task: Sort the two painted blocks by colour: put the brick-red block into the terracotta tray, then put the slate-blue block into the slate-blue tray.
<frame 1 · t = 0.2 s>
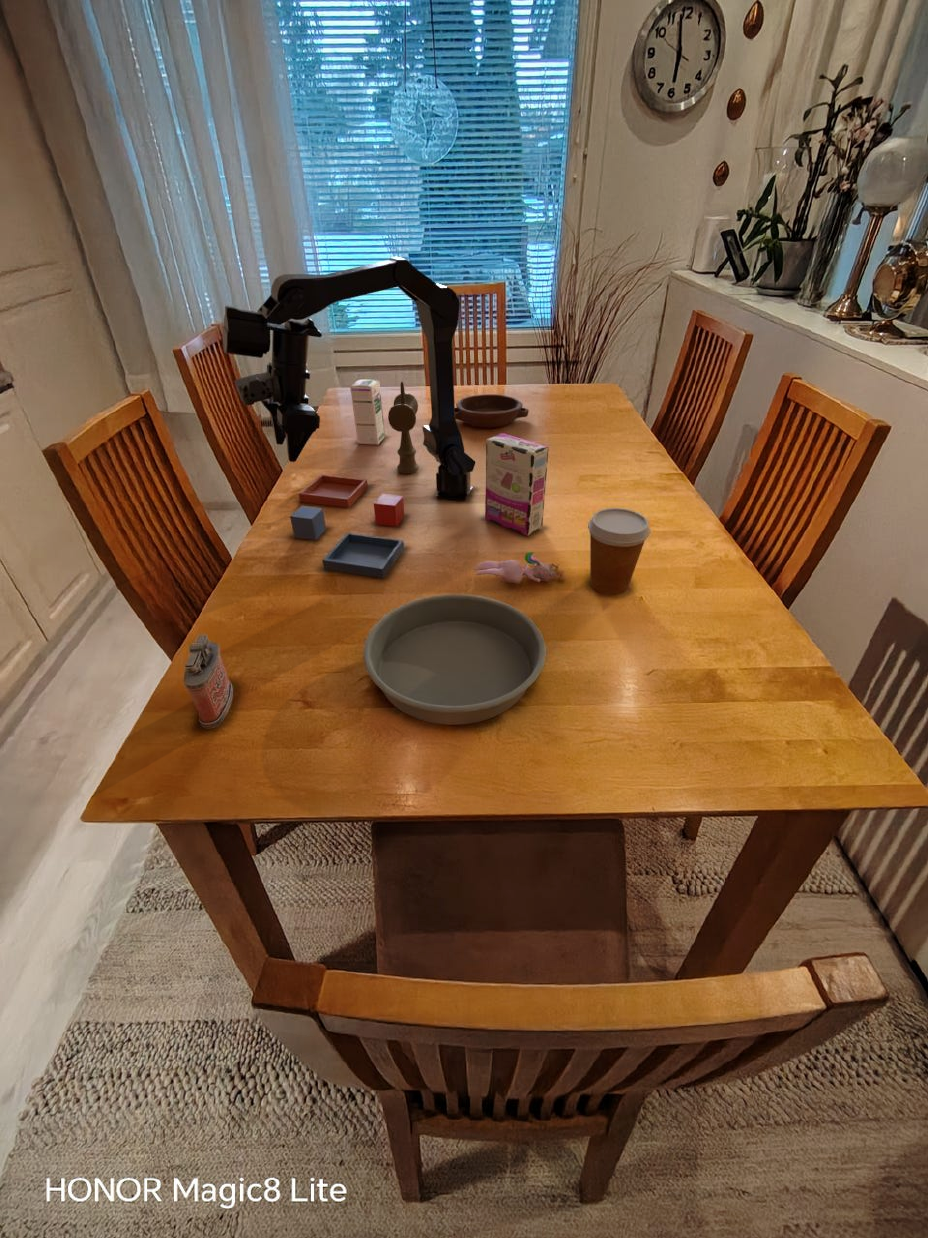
hand: (285, 452, 107), 15 cm above the table, tool pointing down, fingers open, 9 cm apart
cake pan: (455, 669, 82), on the table
syrup box: (371, 441, 153), on the table
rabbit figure: (517, 582, 100), on the table
disposable coffee cup: (609, 585, 99), on the table
candy bar box: (513, 524, 116), on the table
red tray: (334, 494, 127), on the table
dish: (488, 421, 164), on the table
blue tray: (365, 558, 106), on the table
kendama: (408, 471, 137), on the table
red block: (390, 520, 118), on the table
lighter: (218, 706, 77), on the table
blue block: (310, 533, 114), on the table
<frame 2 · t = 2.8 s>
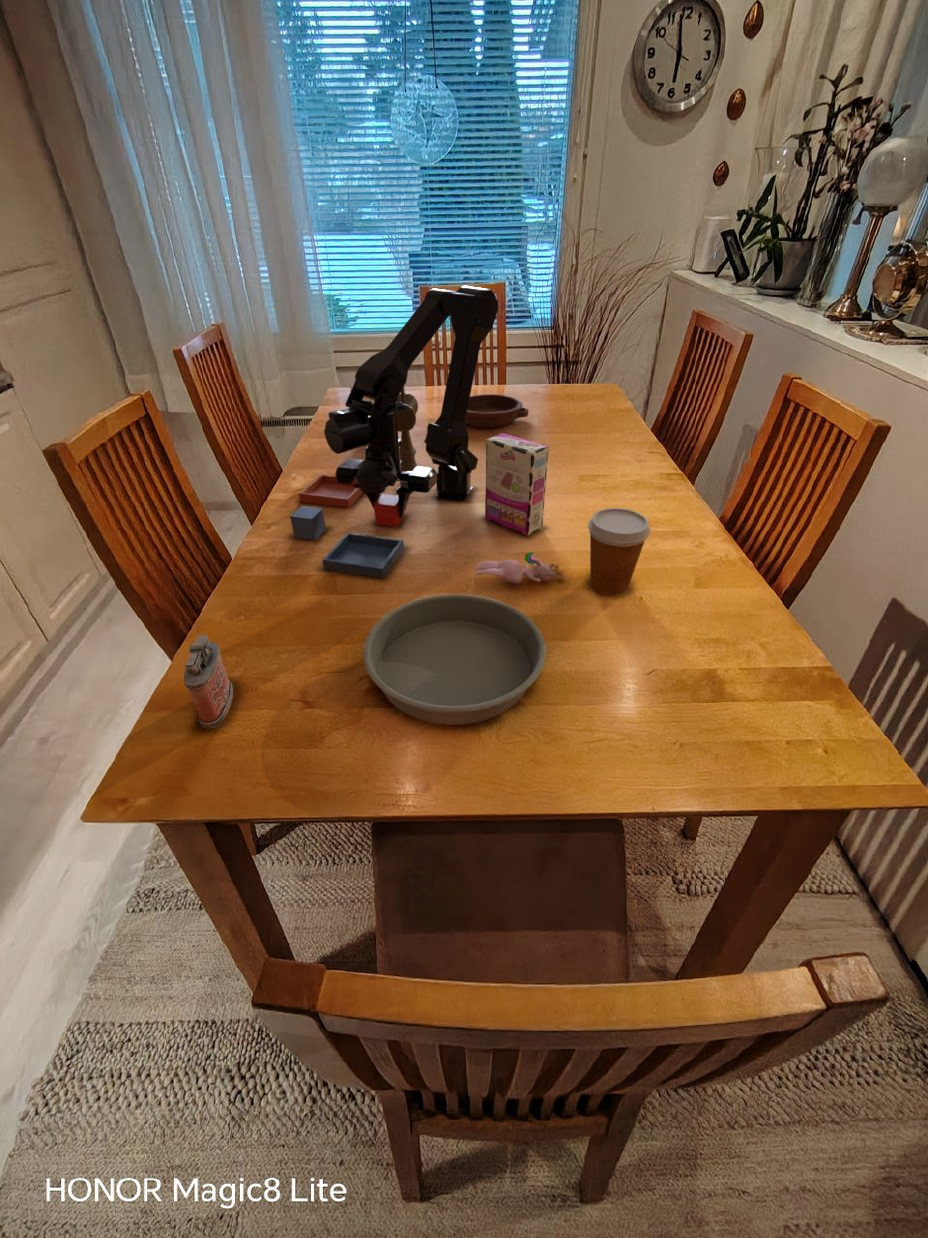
hand: (389, 515, 117), 1 cm above the table, tool pointing down, fingers closed on red block, 4 cm apart
red block: (390, 520, 118), on the table, touching gripper
everything else where it was.
when the fingers open (1 cm above the table, at t = 17.0 s): red block stays where it is, resting on red tray.
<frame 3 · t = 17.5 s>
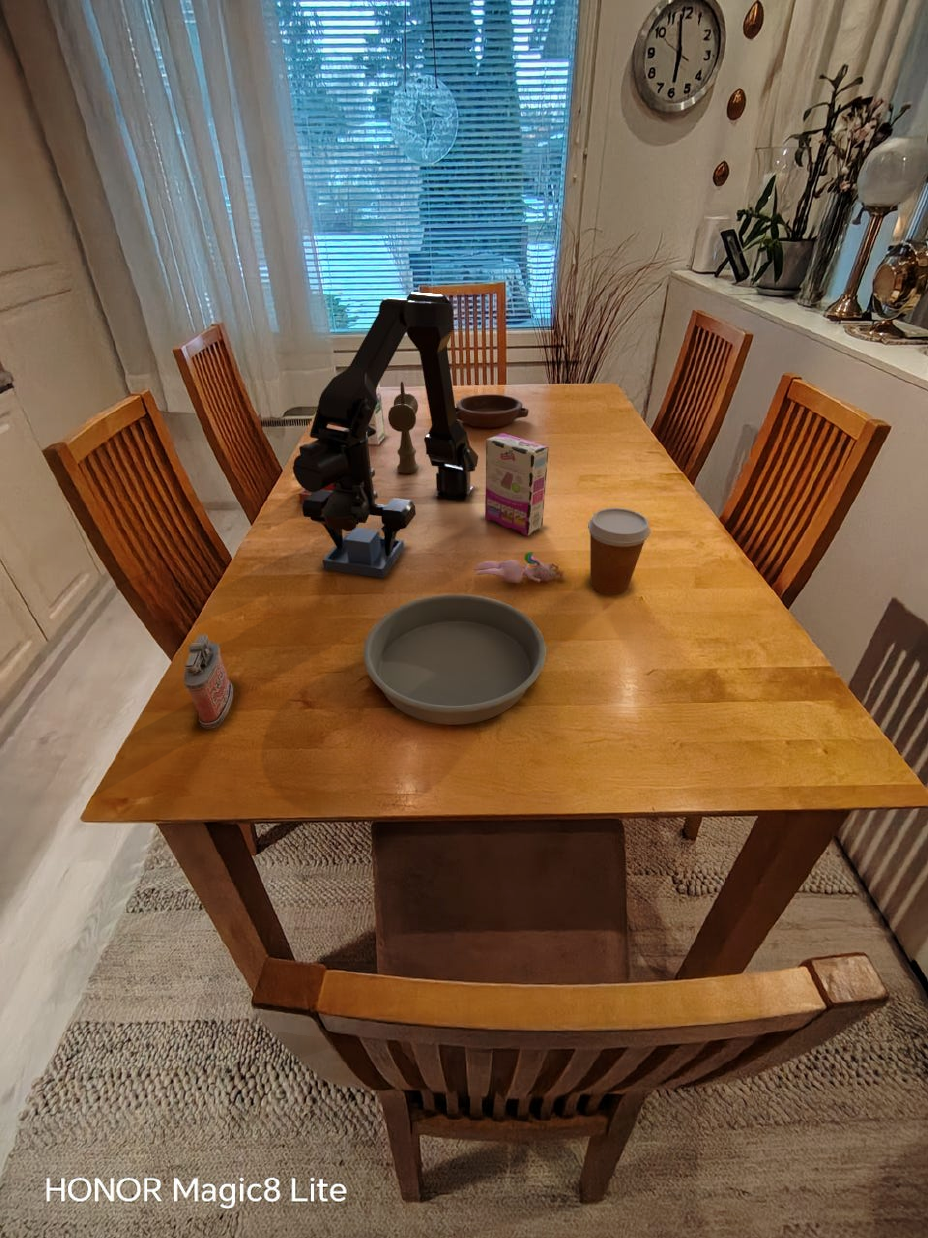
hand: (364, 551, 105), 1 cm above the table, tool pointing down, fingers open, 9 cm apart
red block: (334, 492, 127), resting on red tray
blue block: (365, 556, 106), resting on blue tray
everything else where it was.
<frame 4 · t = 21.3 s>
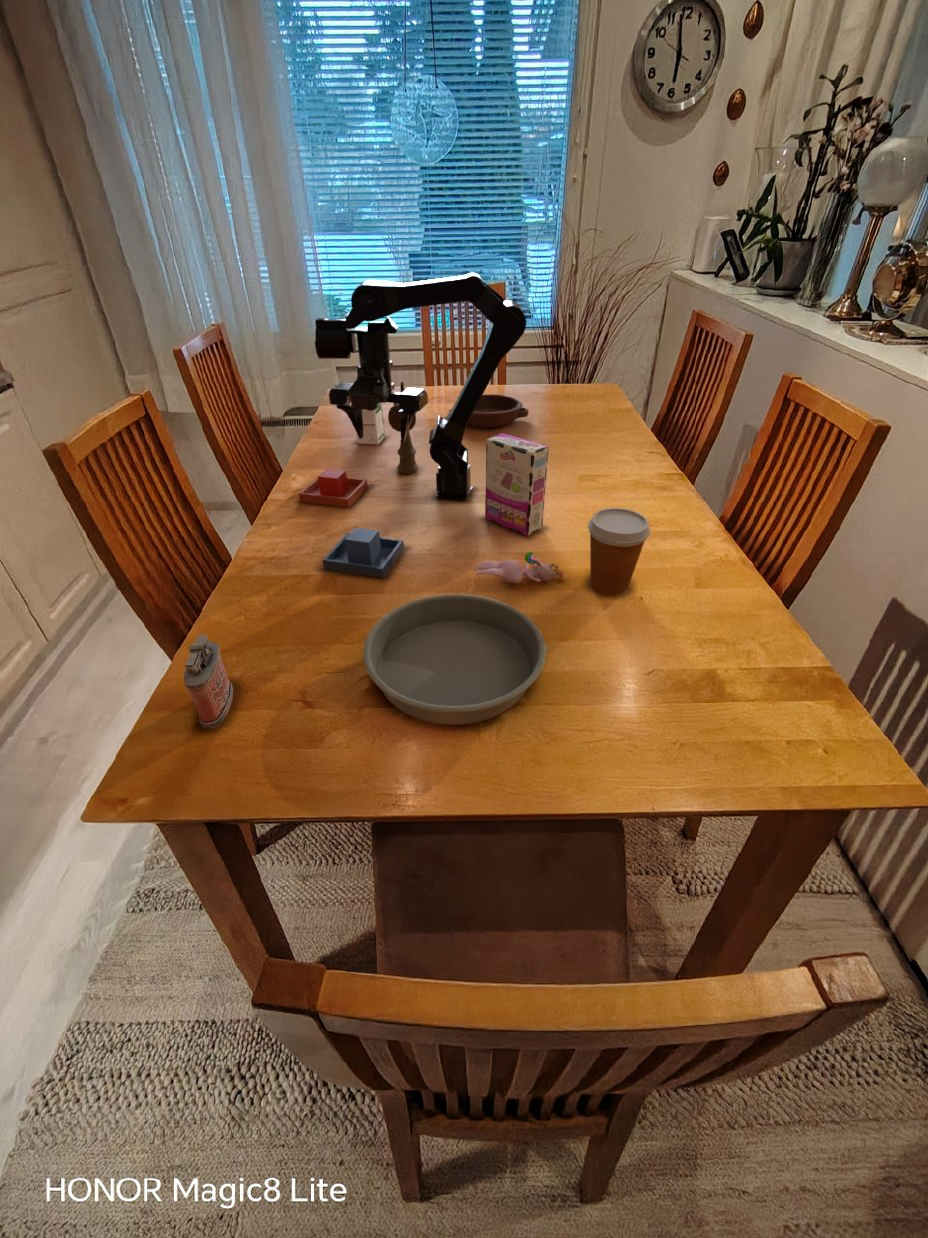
hand: (382, 439, 120), 12 cm above the table, tool pointing down, fingers open, 9 cm apart
nothing on the table moved.
at the end: red block inside the target area in the red tray (0.1 cm from its centre), point 0.4 cm above the red tray's base; blue block inside the target area in the blue tray (0.0 cm from its centre), point 0.4 cm above the blue tray's base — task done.
